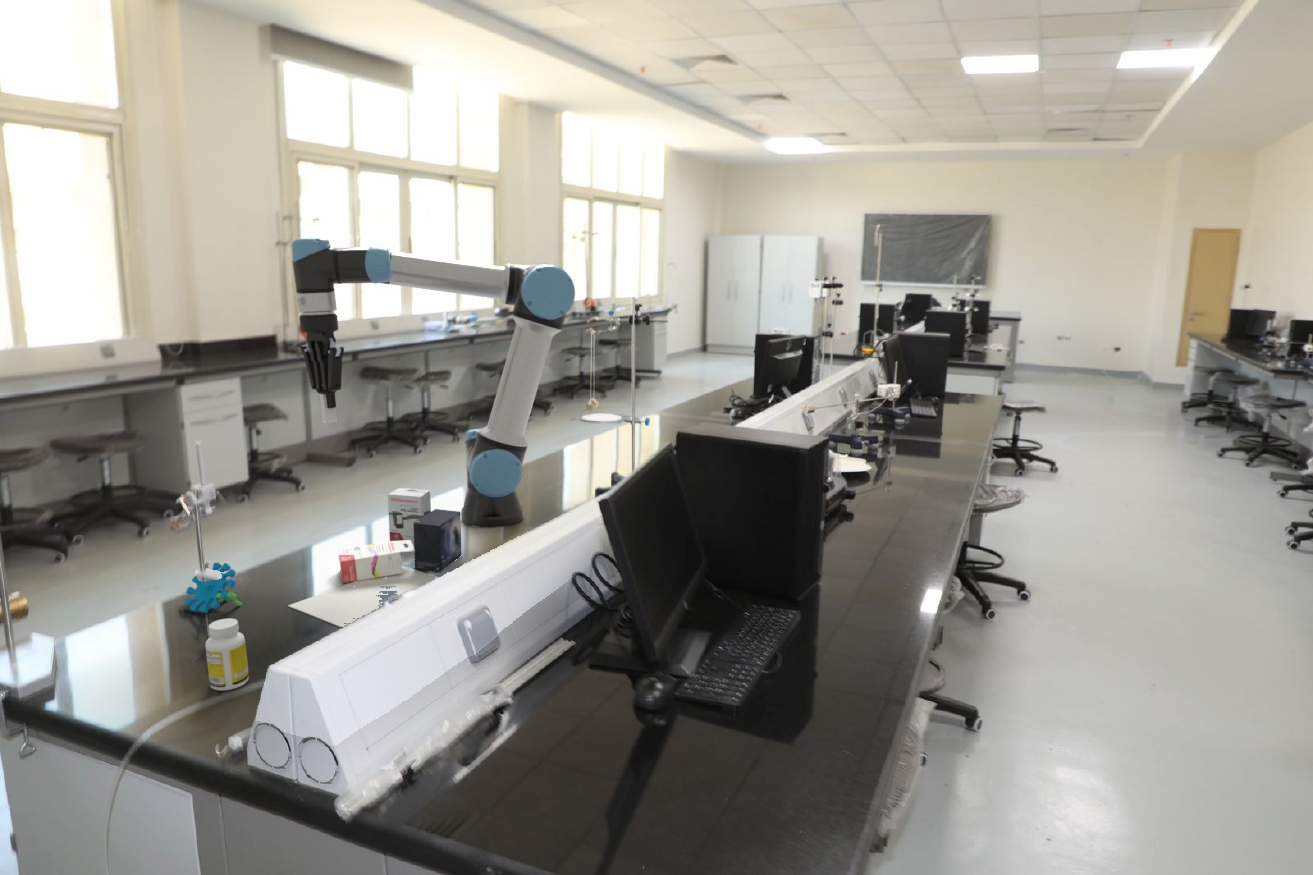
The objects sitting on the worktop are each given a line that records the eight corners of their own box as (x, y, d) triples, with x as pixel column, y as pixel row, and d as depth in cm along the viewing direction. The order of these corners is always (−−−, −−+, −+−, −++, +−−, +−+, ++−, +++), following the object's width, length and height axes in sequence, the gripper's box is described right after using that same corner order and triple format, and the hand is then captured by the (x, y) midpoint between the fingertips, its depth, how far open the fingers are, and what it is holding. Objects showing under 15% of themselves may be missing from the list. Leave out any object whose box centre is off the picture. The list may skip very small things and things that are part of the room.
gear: (172, 599, 156) (208, 553, 160) (195, 611, 161) (229, 567, 165) (208, 620, 151) (244, 572, 155) (230, 632, 156) (265, 585, 160)
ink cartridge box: (342, 585, 169) (417, 572, 174) (339, 561, 168) (415, 549, 173) (340, 570, 176) (412, 559, 182) (337, 548, 175) (410, 537, 181)
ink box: (388, 543, 193) (385, 493, 191) (399, 536, 198) (396, 487, 195) (423, 546, 191) (420, 495, 189) (433, 539, 196) (431, 490, 194)
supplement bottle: (249, 672, 133) (244, 613, 131) (248, 687, 128) (242, 627, 126) (211, 678, 131) (204, 619, 129) (208, 694, 126) (201, 633, 124)
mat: (400, 566, 179) (400, 565, 179) (459, 584, 169) (459, 584, 169) (288, 606, 158) (288, 605, 158) (348, 630, 148) (348, 629, 148)
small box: (442, 573, 175) (440, 525, 173) (413, 570, 176) (411, 522, 174) (463, 556, 185) (462, 510, 183) (436, 553, 187) (434, 508, 184)
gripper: (284, 314, 180) (297, 422, 184) (319, 314, 172) (331, 428, 177) (316, 311, 185) (328, 417, 190) (351, 312, 178) (362, 422, 183)
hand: (330, 422), depth 183 cm, fingers closed
